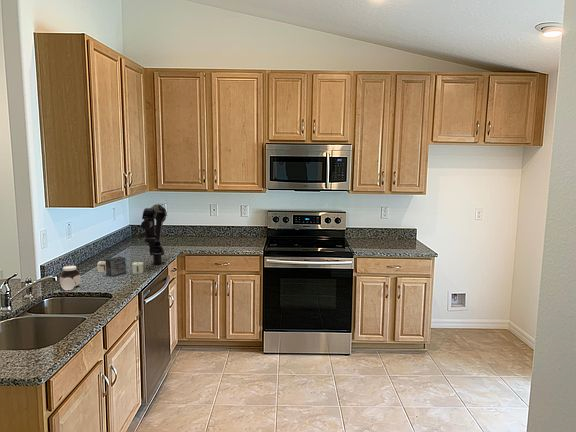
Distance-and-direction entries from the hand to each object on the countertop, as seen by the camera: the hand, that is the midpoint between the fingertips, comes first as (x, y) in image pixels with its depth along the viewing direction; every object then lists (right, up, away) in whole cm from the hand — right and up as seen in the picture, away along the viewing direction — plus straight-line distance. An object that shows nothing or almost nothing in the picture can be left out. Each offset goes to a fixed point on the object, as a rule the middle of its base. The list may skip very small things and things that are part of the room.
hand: (151, 250), depth 296 cm
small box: (-18, -14, -14) cm, 27 cm away
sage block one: (-6, -13, -9) cm, 17 cm away
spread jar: (-32, -18, -44) cm, 57 cm away
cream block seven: (-29, -13, -6) cm, 32 cm away
